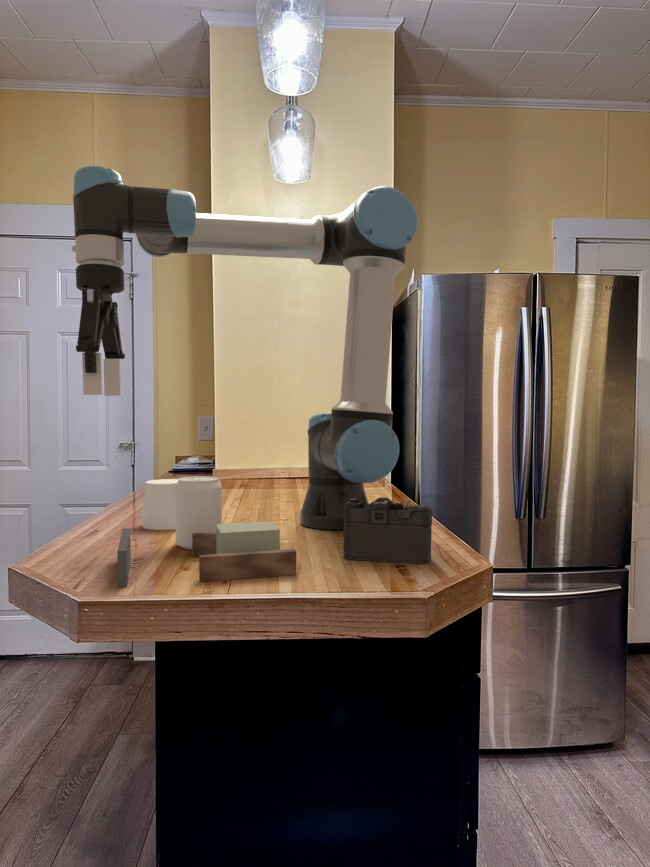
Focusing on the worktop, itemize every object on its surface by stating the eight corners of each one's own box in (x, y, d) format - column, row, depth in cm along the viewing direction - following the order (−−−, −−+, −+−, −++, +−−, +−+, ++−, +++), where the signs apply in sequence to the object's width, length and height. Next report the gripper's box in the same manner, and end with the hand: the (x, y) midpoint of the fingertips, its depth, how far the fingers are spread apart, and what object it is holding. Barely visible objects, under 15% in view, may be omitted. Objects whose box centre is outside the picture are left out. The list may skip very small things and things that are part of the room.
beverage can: (212, 551, 107) (211, 482, 106) (167, 549, 108) (167, 480, 108) (228, 541, 114) (228, 476, 114) (187, 539, 116) (186, 475, 115)
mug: (135, 483, 125) (149, 478, 133) (136, 530, 125) (149, 522, 133) (195, 484, 124) (205, 479, 132) (195, 530, 124) (205, 523, 132)
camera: (433, 550, 108) (433, 493, 108) (430, 566, 98) (431, 503, 97) (351, 546, 111) (351, 490, 111) (341, 561, 100) (341, 500, 100)
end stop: (130, 558, 102) (130, 528, 101) (127, 586, 86) (126, 550, 86) (122, 559, 101) (122, 528, 101) (118, 586, 86) (117, 551, 86)
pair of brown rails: (274, 548, 109) (274, 528, 108) (296, 574, 92) (296, 551, 92) (192, 554, 105) (192, 533, 105) (200, 581, 89) (199, 557, 88)
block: (271, 557, 103) (271, 521, 103) (279, 568, 97) (279, 529, 96) (216, 561, 101) (216, 524, 101) (221, 572, 94) (220, 532, 94)
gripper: (95, 281, 115) (98, 396, 116) (51, 247, 90) (56, 394, 92) (137, 281, 116) (140, 395, 117) (105, 248, 91) (109, 394, 92)
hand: (103, 395), depth 104 cm, fingers open, 13 cm apart
